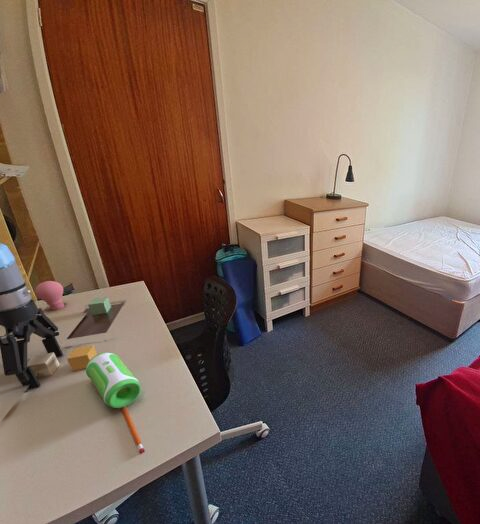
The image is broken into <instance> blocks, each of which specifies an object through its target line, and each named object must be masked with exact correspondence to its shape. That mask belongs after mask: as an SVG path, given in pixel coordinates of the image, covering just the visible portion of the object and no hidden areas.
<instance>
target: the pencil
mask: <svg viewBox="0 0 480 524" xmlns="http://www.w3.org/2000/svg"><path fill="white" fill-rule="evenodd" d="M120 410H121V412H122V414H123V415H122V416H123V417H124V420H125V422H126V424H127V426H128V429H129V431H130V434H131V436H132V439H133V441H134V443H135V446H136V448H137V451H138V453H139V454H140V455H142V454H143V453H145V451H146V450H145V448H144V446H143V443H142V441H141V439H140V437H139V434H138V432H137V430H136V428H135V426H134V423H133V421H132V419H131V416H130V414H129V411H128V409H127V406H125V407H122V408H120Z"/></svg>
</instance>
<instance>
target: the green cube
mask: <svg viewBox="0 0 480 524" xmlns="http://www.w3.org/2000/svg"><path fill="white" fill-rule="evenodd" d="M111 305H112V304H111V302H110V300H109V297H108V296H104V297H97V298H92V299H91V301H89V303H88V304H87V306H88V308H89V309H90V311H91V314H92V315H97V314H104V313H107V312H108V311H109V309H110V308H111Z"/></svg>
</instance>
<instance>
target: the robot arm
mask: <svg viewBox="0 0 480 524" xmlns="http://www.w3.org/2000/svg"><path fill="white" fill-rule="evenodd" d="M31 292H32V291H31V290H30V289H29V288H28V286H27V283H26V281H25V279H24V276H23V275H22V273H21V270H20V267H19V266H18V264H17V262H16V258H15V255H14V254H13V253H12V252H11V250H10V248H9V246H8V245H6V244H4V243H1V242H0V326H1V327H4V330H5V333H4V334H3V335H0V355H1V362H2V367H3V373H4V376H6V377H7V376H13V375H15V376H16V378H17V380H18V381H19V383H20V384H21V385H22V387H25V386H27V388H26V389H25V390H26V391H27V390H33V389H37V388H40V387H41V383H40V381H39V378H37V375H36V374H34V372H33V370H32V368H31V366H28V367H27V362H28V343H30V341H31V337H32V334H34V335H35V336H38V337H40V338H42V340H41V342H42V345H43V347H44V349H45V351H46V354H47V353H53V352H54V354H55V356H56V358H59V357H63V356H64V353H63V351H62V349H61V346H60V344H59V342H58V340H57V338H56V337H59V336H60V332H59V327H58V326H57V325H56V324H55V323H54V322H53V321H52V320H51V319H50V318H49V317H48V316H47V315H46V314H45V313H44V310H43V308H42V307H38V306H37V304H36V302H35V300H34V299H33V296H32V293H31Z"/></svg>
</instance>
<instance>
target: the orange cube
mask: <svg viewBox="0 0 480 524" xmlns="http://www.w3.org/2000/svg"><path fill="white" fill-rule="evenodd" d="M96 355H98V352H97V350H96V347H95V345H94V344H92V345H87V346H81V347H76V348H74V349H73V350H72V351H71V353H70V354H69V356H68V357H67V358H66V359H67V362H68V364H69V366H70V368H71V370H72V372H74V371H80V370H86V366H87V363H88V362H89V360H90V359H91V358H93V357H94V356H96Z"/></svg>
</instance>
